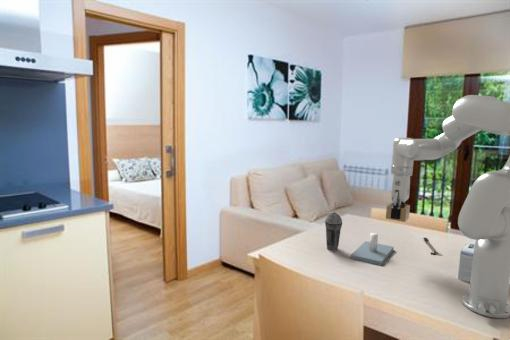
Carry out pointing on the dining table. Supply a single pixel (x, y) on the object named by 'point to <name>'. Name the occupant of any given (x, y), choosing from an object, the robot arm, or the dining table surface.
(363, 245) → the post board
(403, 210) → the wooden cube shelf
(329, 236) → the beverage cup
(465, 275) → the light bulb box
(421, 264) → the dining table surface
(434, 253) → the tactical tomahawk
